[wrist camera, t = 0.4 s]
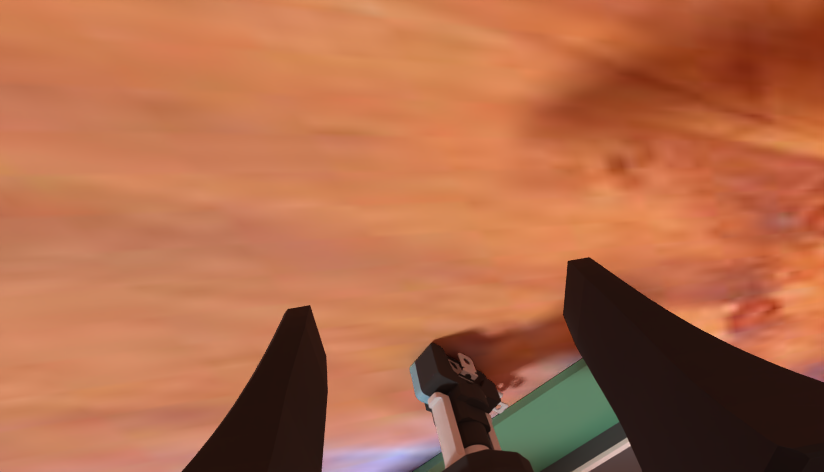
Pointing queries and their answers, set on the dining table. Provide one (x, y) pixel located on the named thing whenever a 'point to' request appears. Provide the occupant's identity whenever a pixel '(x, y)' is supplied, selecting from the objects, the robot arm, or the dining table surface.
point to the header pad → (600, 455)
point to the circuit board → (550, 419)
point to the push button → (463, 413)
